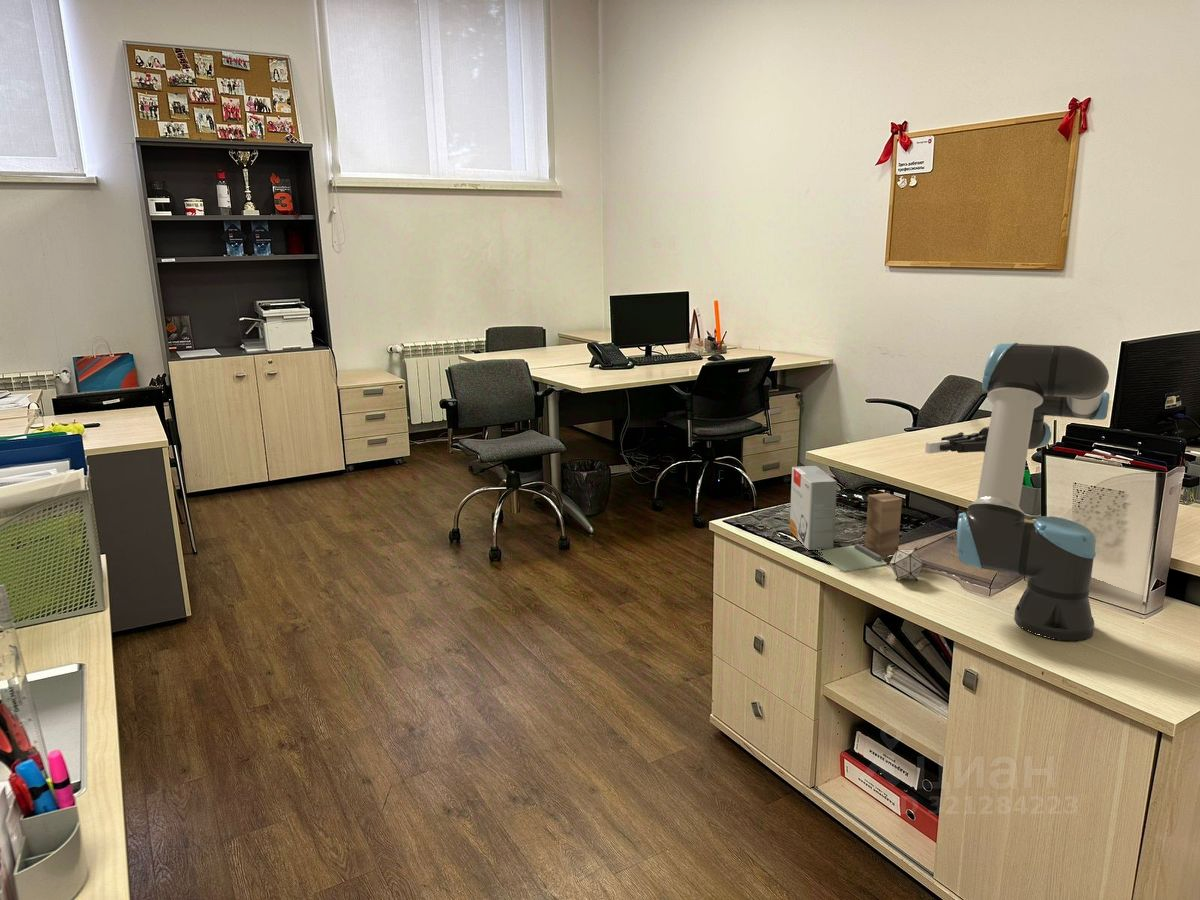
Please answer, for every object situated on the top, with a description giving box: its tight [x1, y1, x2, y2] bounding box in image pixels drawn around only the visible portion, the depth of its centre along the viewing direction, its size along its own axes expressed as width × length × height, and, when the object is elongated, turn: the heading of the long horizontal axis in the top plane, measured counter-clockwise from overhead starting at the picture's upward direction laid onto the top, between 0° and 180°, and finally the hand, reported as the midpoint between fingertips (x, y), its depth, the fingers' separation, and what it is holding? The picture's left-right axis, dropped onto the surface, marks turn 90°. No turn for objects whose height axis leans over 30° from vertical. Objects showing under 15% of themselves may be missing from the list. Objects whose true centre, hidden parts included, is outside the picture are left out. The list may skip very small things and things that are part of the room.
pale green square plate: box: [816, 543, 888, 573], centre depth 214 cm, size 14×13×2 cm
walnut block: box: [864, 492, 903, 560], centre depth 215 cm, size 6×6×16 cm
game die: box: [886, 546, 928, 582], centre depth 200 cm, size 9×8×10 cm
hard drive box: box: [789, 465, 838, 551], centre depth 225 cm, size 16×8×20 cm, turn 6°
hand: (927, 448), depth 214 cm, fingers closed
